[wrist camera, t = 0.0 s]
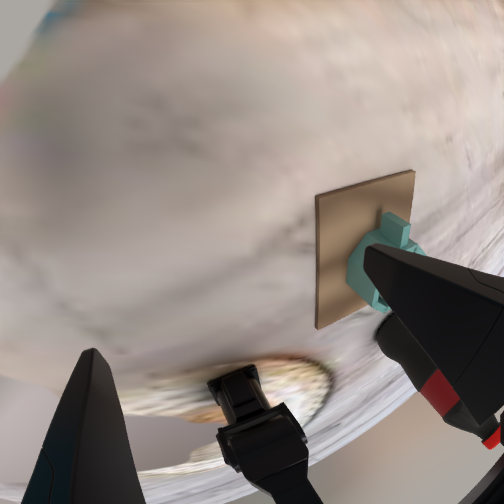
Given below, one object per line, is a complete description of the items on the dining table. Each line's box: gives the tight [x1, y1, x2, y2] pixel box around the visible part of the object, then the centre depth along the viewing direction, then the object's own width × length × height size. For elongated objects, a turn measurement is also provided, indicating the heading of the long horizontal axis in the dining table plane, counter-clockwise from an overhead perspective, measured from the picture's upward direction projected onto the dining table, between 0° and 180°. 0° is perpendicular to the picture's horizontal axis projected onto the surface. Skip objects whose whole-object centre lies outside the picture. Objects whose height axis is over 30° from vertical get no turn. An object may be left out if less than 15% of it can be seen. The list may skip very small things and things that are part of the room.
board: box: [315, 170, 416, 330], centre depth 33 cm, size 18×14×1 cm
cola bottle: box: [377, 313, 500, 450], centre depth 34 cm, size 8×8×30 cm
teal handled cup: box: [346, 211, 426, 313], centre depth 31 cm, size 11×8×5 cm
